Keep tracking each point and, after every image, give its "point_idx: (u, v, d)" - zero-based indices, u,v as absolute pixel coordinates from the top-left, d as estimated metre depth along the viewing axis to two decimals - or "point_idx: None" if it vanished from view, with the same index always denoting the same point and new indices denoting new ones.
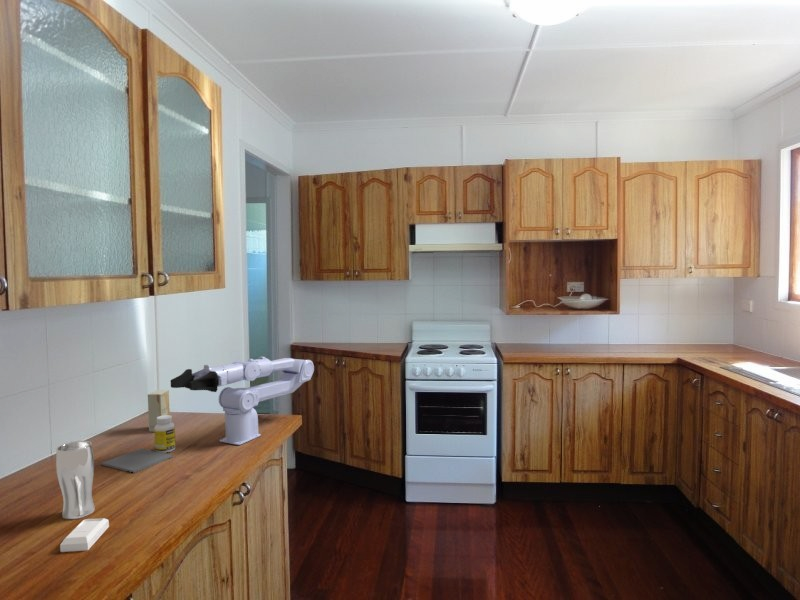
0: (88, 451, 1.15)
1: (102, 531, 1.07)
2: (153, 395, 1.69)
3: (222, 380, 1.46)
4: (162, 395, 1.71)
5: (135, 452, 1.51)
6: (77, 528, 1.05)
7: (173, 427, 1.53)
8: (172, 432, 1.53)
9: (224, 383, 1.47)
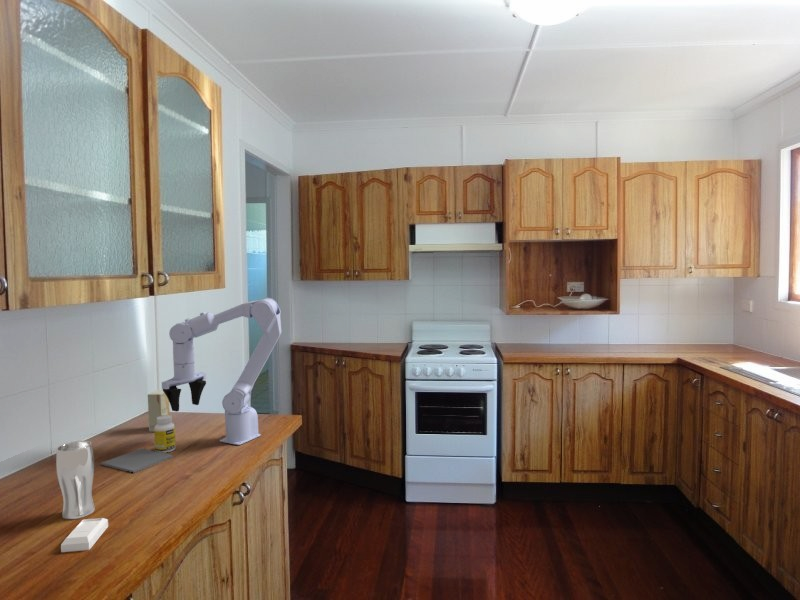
0: (88, 451, 1.15)
1: (102, 531, 1.08)
2: (153, 395, 1.69)
3: (163, 387, 1.53)
4: (162, 395, 1.71)
5: (135, 452, 1.51)
6: (77, 528, 1.05)
7: (173, 427, 1.53)
8: (172, 432, 1.53)
9: (165, 385, 1.53)
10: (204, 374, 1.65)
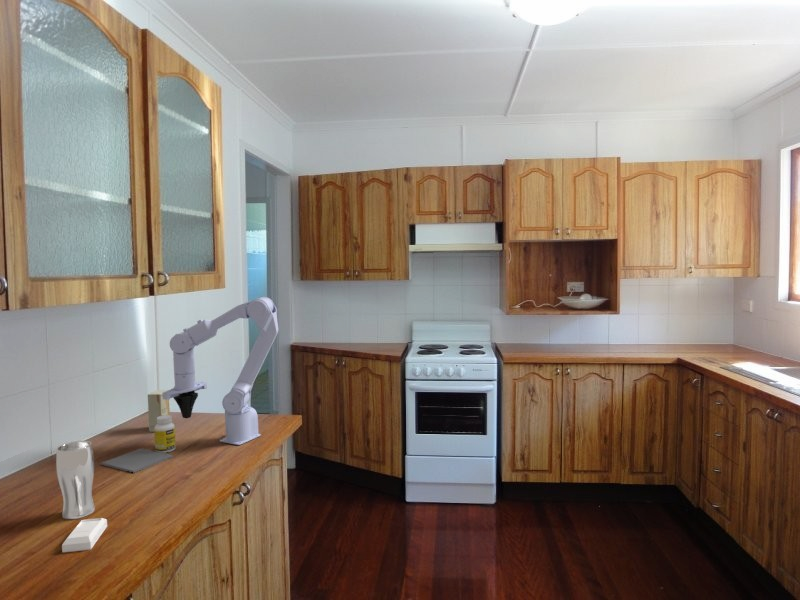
0: (88, 451, 1.15)
1: (102, 530, 1.08)
2: (153, 395, 1.69)
3: (164, 397, 1.53)
4: (162, 395, 1.71)
5: (135, 452, 1.51)
6: (77, 528, 1.05)
7: (173, 427, 1.53)
8: (172, 432, 1.53)
9: (166, 396, 1.53)
10: (205, 383, 1.65)
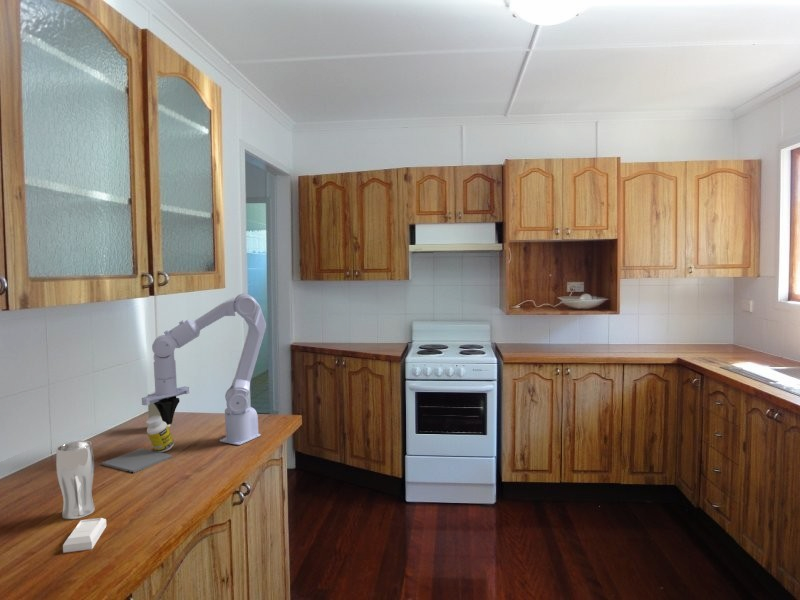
0: (88, 451, 1.15)
1: (101, 530, 1.08)
2: None
3: (143, 403, 1.48)
4: None
5: (135, 452, 1.51)
6: (77, 528, 1.05)
7: (165, 426, 1.51)
8: (166, 431, 1.51)
9: (145, 401, 1.47)
10: (187, 388, 1.59)
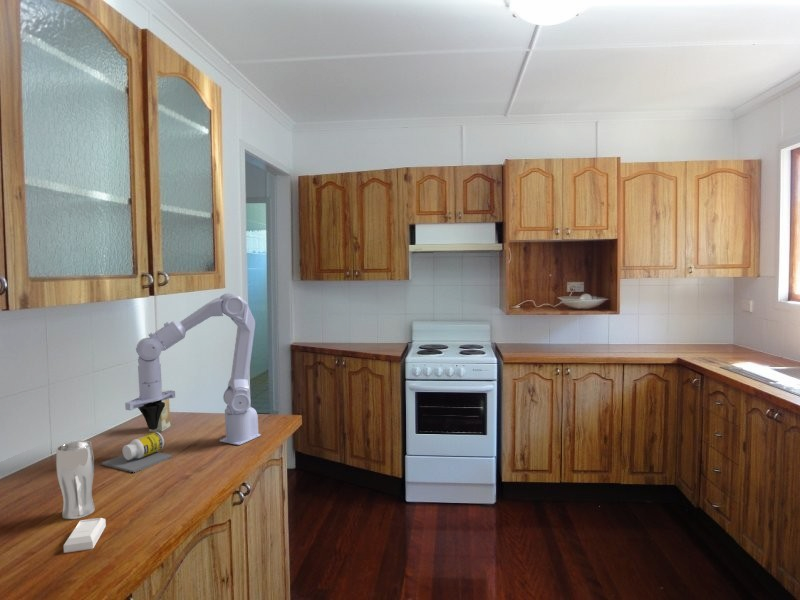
0: (88, 451, 1.15)
1: (101, 530, 1.08)
2: None
3: (126, 408, 1.43)
4: None
5: None
6: (77, 529, 1.05)
7: (142, 445, 1.45)
8: (147, 446, 1.46)
9: (129, 406, 1.43)
10: (173, 392, 1.55)
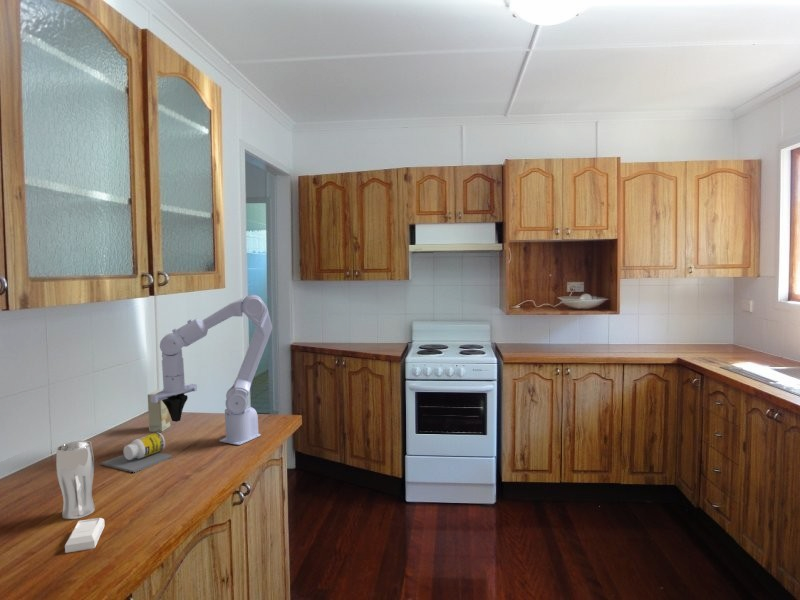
0: (88, 451, 1.15)
1: (101, 530, 1.08)
2: None
3: (152, 400, 1.49)
4: None
5: None
6: (77, 529, 1.05)
7: (143, 446, 1.45)
8: (148, 447, 1.46)
9: (154, 398, 1.49)
10: (195, 386, 1.61)
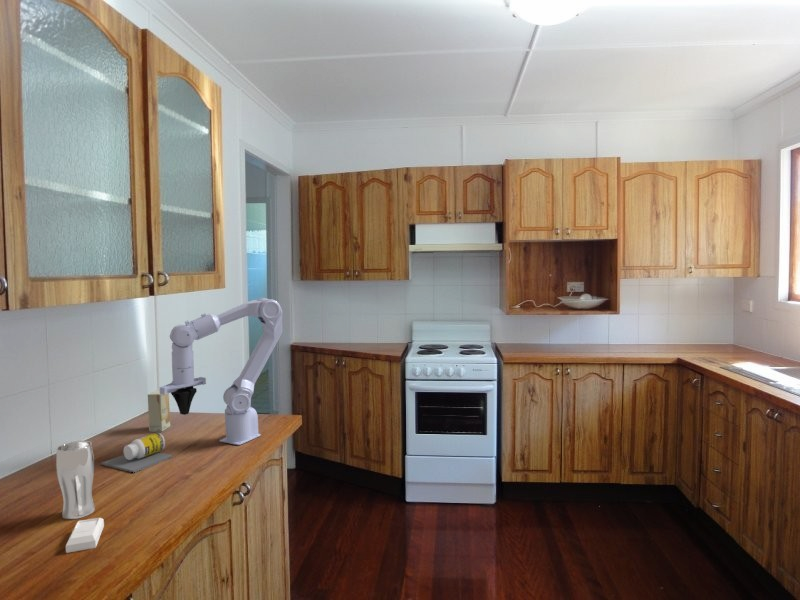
0: (88, 451, 1.15)
1: (101, 530, 1.08)
2: (153, 395, 1.69)
3: (161, 392, 1.47)
4: (162, 395, 1.71)
5: None
6: (76, 529, 1.05)
7: (143, 446, 1.45)
8: (148, 447, 1.46)
9: (163, 390, 1.46)
10: (204, 379, 1.58)
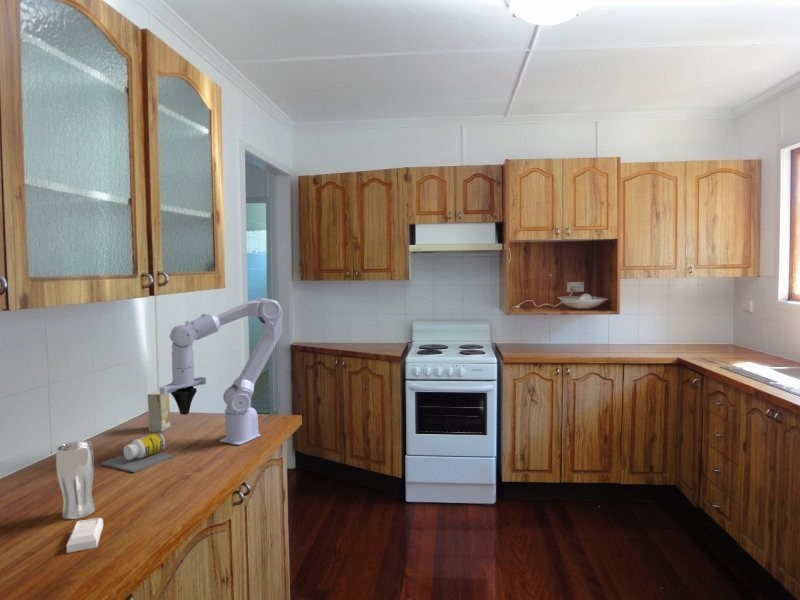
0: (88, 451, 1.15)
1: (101, 530, 1.08)
2: (153, 395, 1.69)
3: (161, 392, 1.47)
4: (162, 395, 1.71)
5: None
6: (76, 529, 1.05)
7: (143, 446, 1.45)
8: (148, 447, 1.46)
9: (163, 390, 1.46)
10: (204, 379, 1.58)
